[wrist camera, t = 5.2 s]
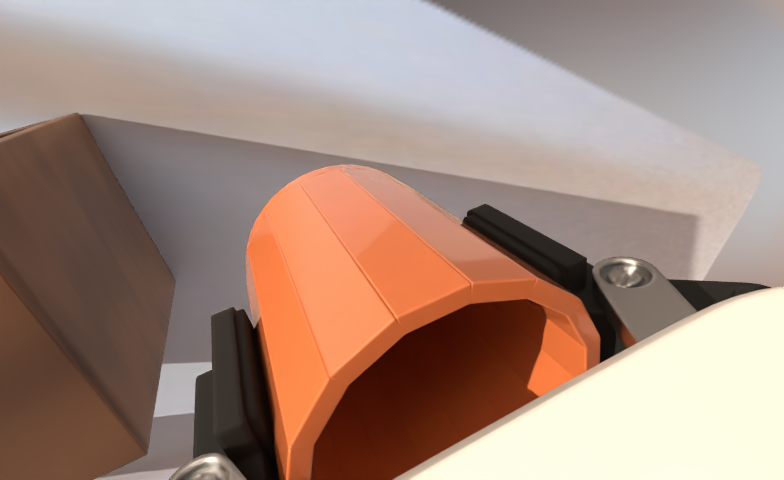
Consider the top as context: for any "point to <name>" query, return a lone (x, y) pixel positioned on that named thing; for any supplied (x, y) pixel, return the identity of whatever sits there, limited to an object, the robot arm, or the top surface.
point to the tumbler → (395, 326)
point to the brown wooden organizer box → (74, 309)
